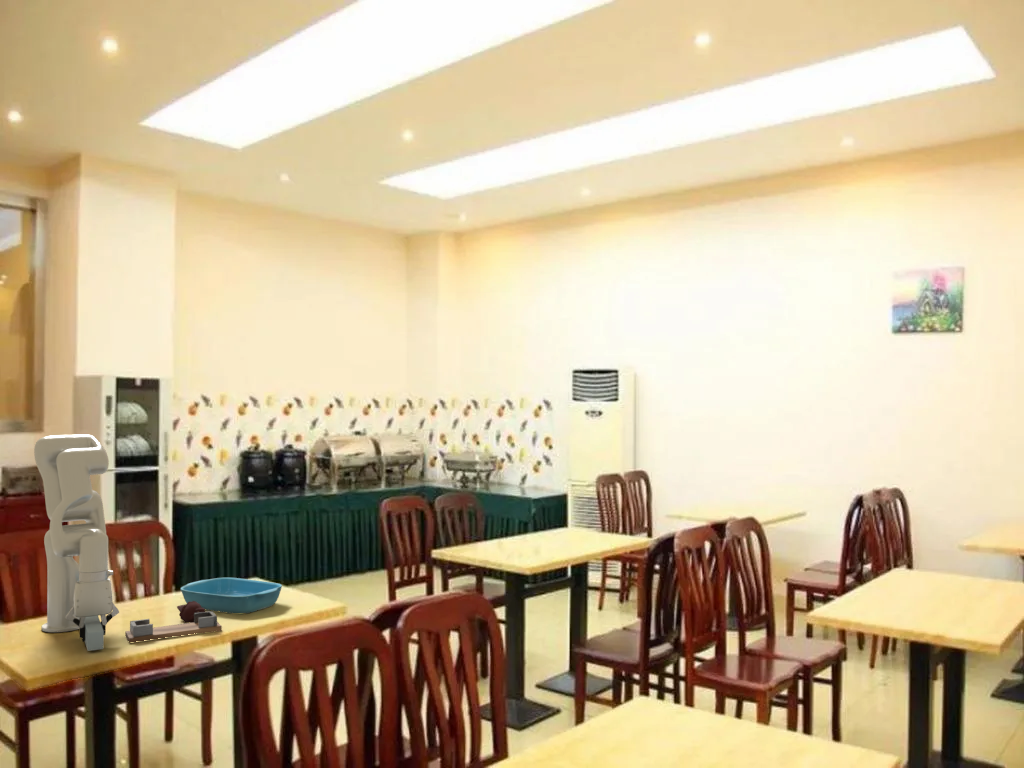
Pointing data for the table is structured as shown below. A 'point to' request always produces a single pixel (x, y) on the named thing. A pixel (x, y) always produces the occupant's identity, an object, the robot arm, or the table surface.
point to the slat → (93, 633)
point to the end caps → (146, 628)
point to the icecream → (189, 611)
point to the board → (173, 631)
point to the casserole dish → (232, 594)
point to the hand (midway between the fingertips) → (92, 638)
